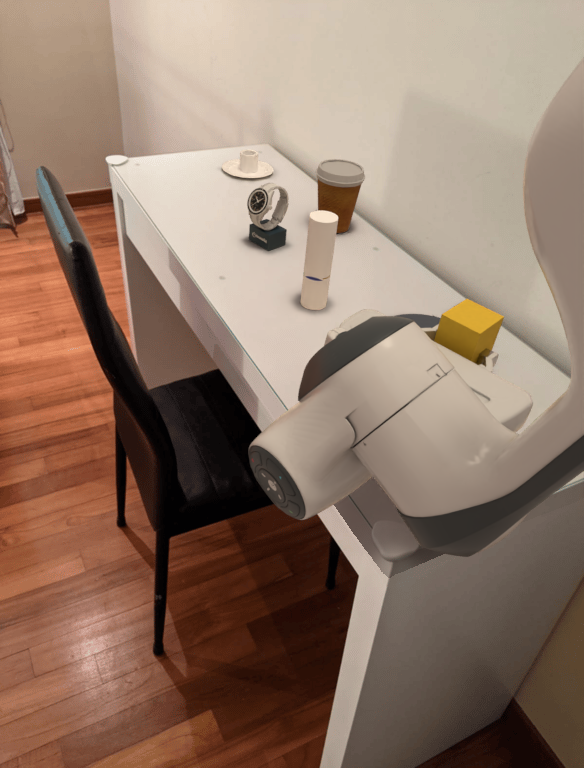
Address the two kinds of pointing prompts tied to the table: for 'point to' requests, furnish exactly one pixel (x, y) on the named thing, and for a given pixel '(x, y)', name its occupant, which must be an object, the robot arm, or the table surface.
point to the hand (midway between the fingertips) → (466, 343)
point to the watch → (267, 230)
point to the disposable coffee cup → (339, 189)
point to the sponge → (468, 329)
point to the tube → (318, 259)
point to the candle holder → (247, 166)
